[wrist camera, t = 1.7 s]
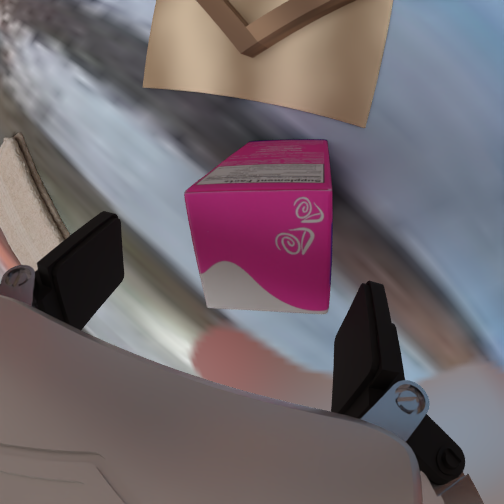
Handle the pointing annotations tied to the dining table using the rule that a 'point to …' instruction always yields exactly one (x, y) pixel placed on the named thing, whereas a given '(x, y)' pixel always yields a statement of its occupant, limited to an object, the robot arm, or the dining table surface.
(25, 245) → the washcloth
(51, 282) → the robot arm
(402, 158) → the dining table surface
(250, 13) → the collar holder
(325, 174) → the supplement box
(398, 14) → the dining table surface
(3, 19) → the dining table surface
